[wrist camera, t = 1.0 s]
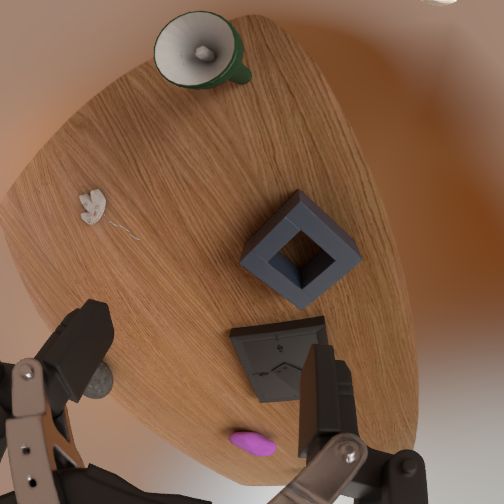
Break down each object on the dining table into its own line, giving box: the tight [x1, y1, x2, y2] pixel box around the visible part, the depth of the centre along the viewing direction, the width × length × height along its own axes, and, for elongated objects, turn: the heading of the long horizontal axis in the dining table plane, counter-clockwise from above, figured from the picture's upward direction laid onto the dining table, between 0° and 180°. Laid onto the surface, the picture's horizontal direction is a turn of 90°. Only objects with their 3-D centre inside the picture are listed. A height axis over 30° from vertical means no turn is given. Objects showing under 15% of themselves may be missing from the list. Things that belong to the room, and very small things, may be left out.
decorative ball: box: [83, 361, 113, 399], centre depth 57 cm, size 10×10×10 cm
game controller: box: [79, 189, 140, 240], centre depth 40 cm, size 6×12×3 cm, turn 69°
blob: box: [229, 432, 276, 456], centre depth 67 cm, size 14×11×5 cm
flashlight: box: [154, 11, 252, 89], centre depth 22 cm, size 5×5×20 cm
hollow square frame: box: [239, 189, 363, 310], centre depth 38 cm, size 11×11×5 cm
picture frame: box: [230, 316, 328, 403], centre depth 51 cm, size 16×3×21 cm
